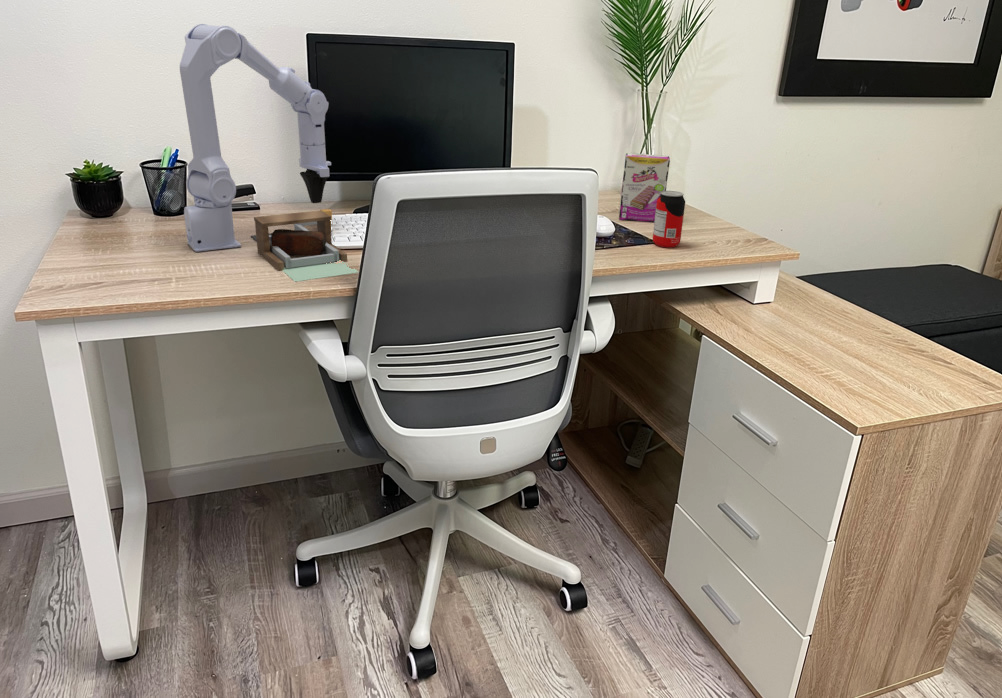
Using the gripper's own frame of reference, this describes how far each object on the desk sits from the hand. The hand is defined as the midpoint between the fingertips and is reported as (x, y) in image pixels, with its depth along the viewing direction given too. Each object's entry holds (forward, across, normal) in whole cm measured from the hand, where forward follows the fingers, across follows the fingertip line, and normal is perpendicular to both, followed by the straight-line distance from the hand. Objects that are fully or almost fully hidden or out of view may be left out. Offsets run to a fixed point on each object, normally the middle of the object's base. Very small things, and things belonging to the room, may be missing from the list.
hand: (316, 202), depth 184 cm
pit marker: (+5, -7, +13) cm, 16 cm away
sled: (+5, -18, +8) cm, 20 cm away
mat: (+5, -34, +12) cm, 36 cm away
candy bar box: (+6, -30, -76) cm, 82 cm away
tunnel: (+5, -23, +12) cm, 27 cm away
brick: (+5, -22, +12) cm, 26 cm away
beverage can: (+6, -50, -65) cm, 82 cm away
